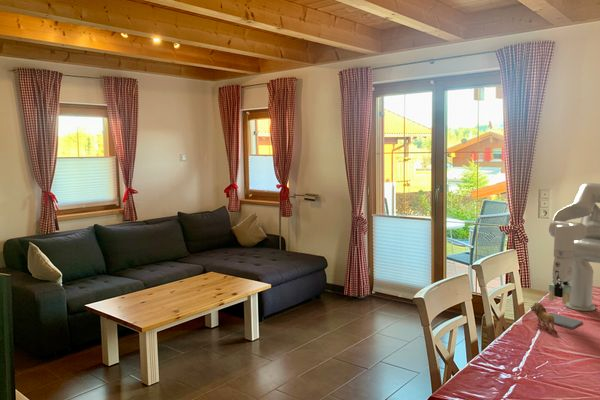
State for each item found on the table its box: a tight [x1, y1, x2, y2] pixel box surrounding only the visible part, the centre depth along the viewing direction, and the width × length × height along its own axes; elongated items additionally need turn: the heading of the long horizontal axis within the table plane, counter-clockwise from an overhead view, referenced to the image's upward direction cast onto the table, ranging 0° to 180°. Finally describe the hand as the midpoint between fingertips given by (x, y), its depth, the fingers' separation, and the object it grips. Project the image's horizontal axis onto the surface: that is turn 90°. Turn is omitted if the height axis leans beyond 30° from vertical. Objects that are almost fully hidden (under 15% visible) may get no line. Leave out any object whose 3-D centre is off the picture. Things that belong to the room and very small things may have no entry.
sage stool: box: [548, 282, 572, 305], centre depth 205 cm, size 7×5×7 cm
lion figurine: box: [530, 301, 559, 334], centre depth 200 cm, size 15×5×9 cm, turn 11°
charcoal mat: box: [541, 312, 584, 330], centre depth 206 cm, size 10×14×1 cm
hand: (561, 294), depth 205 cm, fingers closed on sage stool, 5 cm apart
